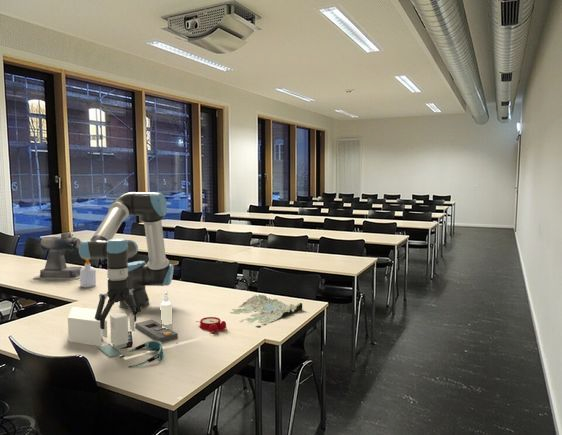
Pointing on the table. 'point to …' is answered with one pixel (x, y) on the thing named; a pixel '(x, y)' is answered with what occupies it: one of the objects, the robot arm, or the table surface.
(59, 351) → the table surface
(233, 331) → the table surface
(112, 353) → the felt mat
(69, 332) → the white rectangular block
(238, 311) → the topographic map model
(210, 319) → the alarm clock
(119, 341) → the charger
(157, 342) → the sunglasses
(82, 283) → the soap bottle
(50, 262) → the grinder
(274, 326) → the table surface
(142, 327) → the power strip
